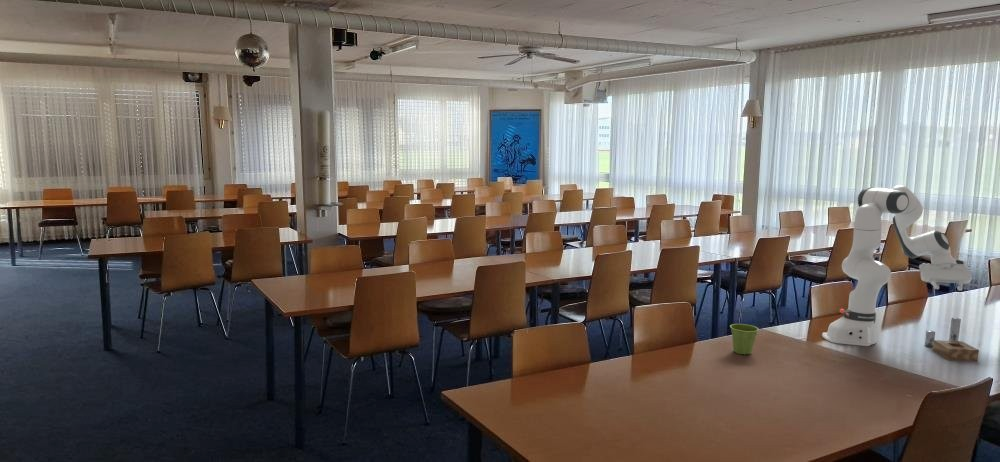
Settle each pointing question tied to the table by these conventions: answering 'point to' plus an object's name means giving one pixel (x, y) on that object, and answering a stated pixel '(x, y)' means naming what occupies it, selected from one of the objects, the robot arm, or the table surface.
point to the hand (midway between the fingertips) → (948, 289)
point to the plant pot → (743, 337)
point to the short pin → (929, 338)
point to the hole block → (955, 350)
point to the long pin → (954, 329)
